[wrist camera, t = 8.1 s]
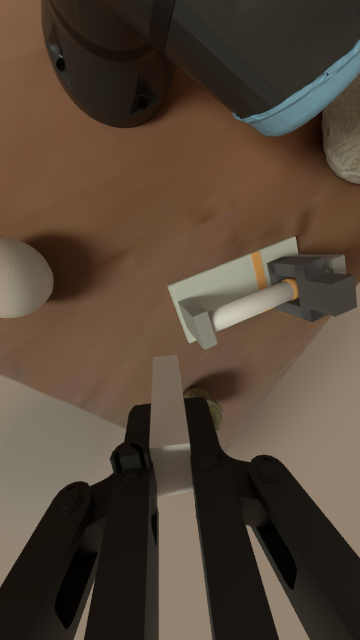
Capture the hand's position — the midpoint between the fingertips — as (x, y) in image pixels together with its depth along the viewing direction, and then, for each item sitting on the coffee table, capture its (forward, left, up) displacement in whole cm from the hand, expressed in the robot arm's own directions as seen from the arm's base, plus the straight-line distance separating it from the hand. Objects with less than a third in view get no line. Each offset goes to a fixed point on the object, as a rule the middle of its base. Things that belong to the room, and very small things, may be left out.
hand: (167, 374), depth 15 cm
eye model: (0, -18, -25) cm, 31 cm away
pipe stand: (-6, +16, -25) cm, 31 cm away
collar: (-9, +21, -20) cm, 30 cm away
